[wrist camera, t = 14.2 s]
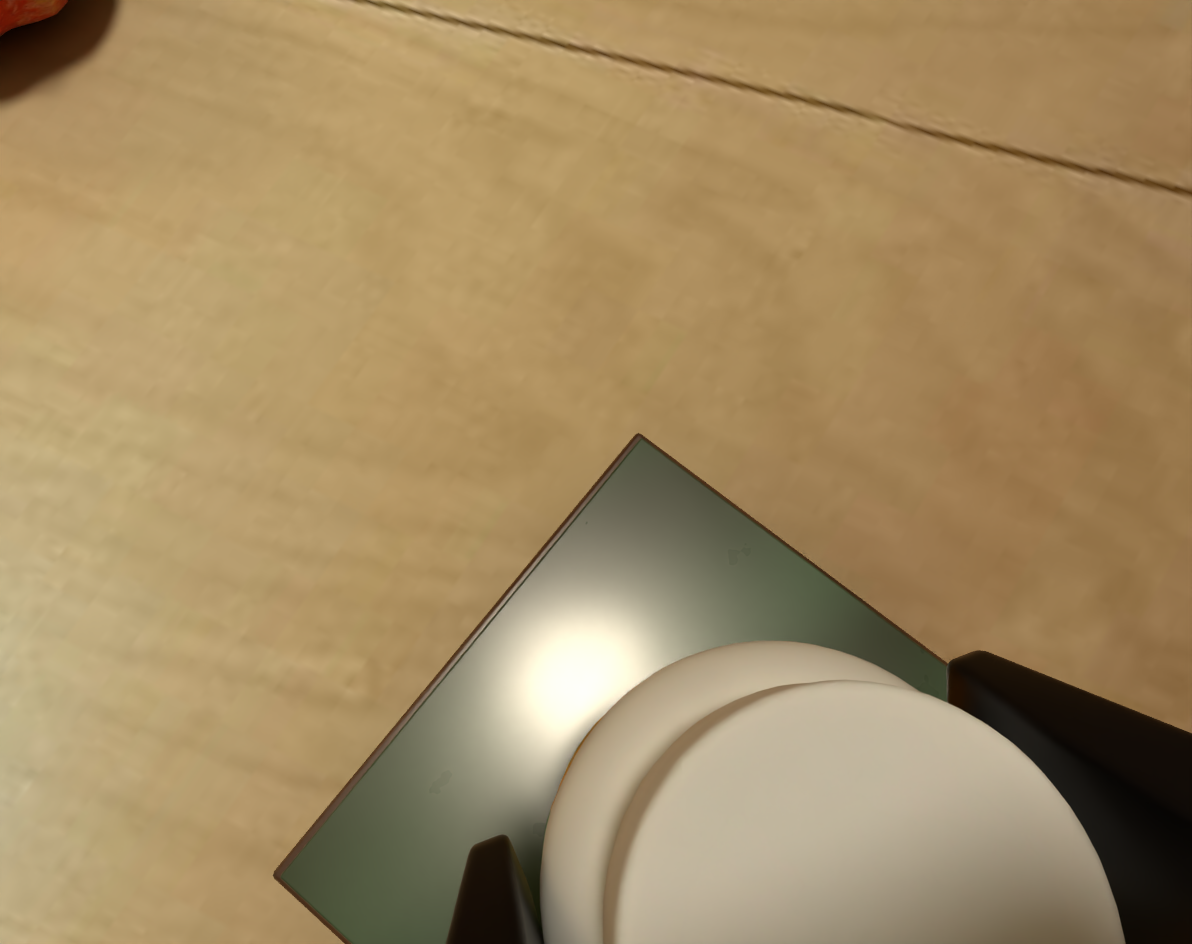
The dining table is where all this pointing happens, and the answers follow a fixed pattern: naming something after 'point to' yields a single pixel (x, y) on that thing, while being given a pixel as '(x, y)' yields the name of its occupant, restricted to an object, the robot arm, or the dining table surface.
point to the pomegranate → (26, 12)
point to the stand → (565, 689)
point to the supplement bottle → (810, 817)
